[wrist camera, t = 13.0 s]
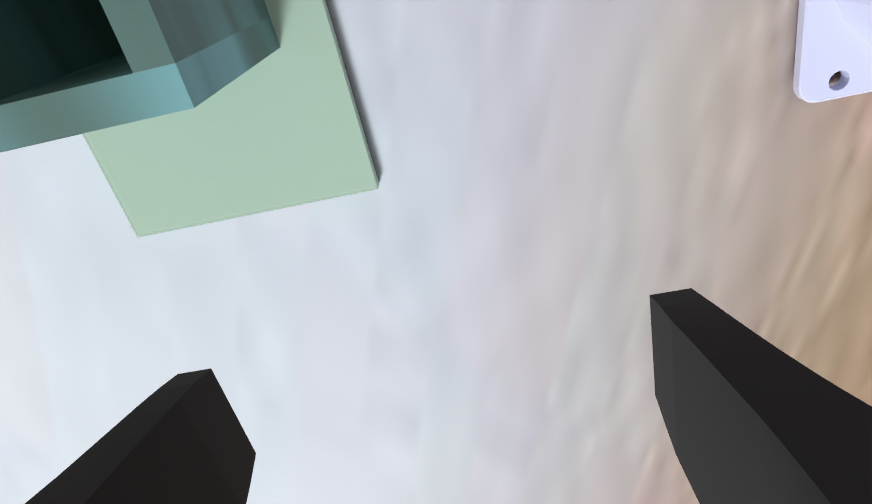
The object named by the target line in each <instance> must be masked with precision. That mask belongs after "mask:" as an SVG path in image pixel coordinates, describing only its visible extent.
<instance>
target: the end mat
mask: <svg viewBox="0 0 872 504" xmlns="http://www.w3.org/2000/svg"><path fill="white" fill-rule="evenodd" d="M264 1H265V4H266V7H267V10H268V13H269V16H270V19H271V22H272V25H273V28H274V31H275V33H276V36H277V39H278V42H279V45H280V48H279V49H278V50H276V51H275V52H273V53H272V54H270V55H269V56H268V57H266V58H265V59H263V60H262V61H260V62H259V63H258V64H256V65H255V66H253V67H252V68H251V69H249V70H248V71H246V72H245V73H243V74H242V75H241V76H239V77H238V78H236V79H235V80H233V81H232V82H231V83H229V84H228V85H226V86H225V87H223V88H222V89H221V90H219V91H218V92H216V93H215V94H214V95H212V96H211V97H209V98H208V99H206V100H205V101H204V102H202V103H201V104H199V105H198V106H196V107H195V108H192V109H188V110H183V111H179V112H175V113H170V114H166V115H162V116H157V117H153V118H148V119H144V120H140V121H135V122H131V123H127V124H122V125H118V126H114V127H109V128H105V129H100V130H96V131H92V132H87V133H83V136H84V138H85V139H86V141H87V143H88V145H89V147H90V149H91V151H92V153H93V155H94V156H95V158H96V160H97V162H98V164H99V166H100V168H101V170H102V171H103V173H104V175H105V177H106V179H107V181H108V183H109V185H110V186H111V188H112V190H113V192H114V194H115V196H116V198H117V200H118V201H119V203H120V205H121V207H122V209H123V211H124V213H125V215H126V216H127V218H128V220H129V222H130V224H131V226H132V228H133V230H134V231H135V233H136V235H137V237H142V236H147V235H152V234H157V233H162V232H167V231H172V230H177V229H182V228H187V227H192V226H197V225H202V224H207V223H212V222H216V221H221V220H226V219H231V218H236V217H241V216H246V215H251V214H256V213H261V212H266V211H271V210H276V209H281V208H286V207H291V206H296V205H301V204H306V203H311V202H316V201H321V200H326V199H330V198H335V197H340V196H345V195H350V194H355V193H360V192H365V191H370V190H375V189H378V186H379V182H378V178H377V175H376V172H375V168H374V165H373V161H372V158H371V154H370V151H369V148H368V144H367V141H366V137H365V134H364V130H363V127H362V124H361V120H360V117H359V113H358V110H357V106H356V103H355V100H354V96H353V93H352V89H351V86H350V83H349V79H348V76H347V72H346V69H345V65H344V62H343V59H342V55H341V52H340V48H339V45H338V41H337V38H336V35H335V31H334V28H333V24H332V21H331V18H330V14H329V11H328V7H327V4H326V0H264Z"/></svg>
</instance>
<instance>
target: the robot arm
mask: <svg viewBox="0 0 872 504" xmlns="http://www.w3.org/2000/svg"><path fill="white" fill-rule="evenodd" d="M838 71H840V72H841V77H840V80H839V81H838V82H837V83H836V84H835V85H833V86H831V87H829V80H830V77H831V76H832V75H833V74H834V73H836V72H838ZM793 88H794V93H795V94H796V95H797V97H798V98H801V99H803V100H805V101H807V102H809V103H812V102H821V101H826V100H831V99H836V98H841V97H846V96H851V95H856V94H861V93H866V92H871V91H872V0H799V10H798V24H797V38H796V52H795V66H794V80H793ZM650 309H651V326H652V344H653V362H654V380H655V395H656V398H657V401H658V404H659V407H660V410H661V413H662V416H663V419H664V422H665V425H666V428H667V430H668V433H669V436H670V439H671V441H672V444H673V447H674V450H675V453H676V455H677V457H678V459H679V462H680V464H681V466H682V468H683V470H684V472H685V474H686V476H687V478H688V480H689V482H690V484H691V486H692V489H693V491H694V493H695V495H696V497H697V499H698V501H699V503H700V504H872V406H870V405H868V404H866V403H865V402H863V401H861V400H860V399H858V398H856V397H854V396H853V395H851V394H849V393H847V392H846V391H844V390H842V389H841V388H839V387H837V386H836V385H834V384H833V383H831V382H829V381H828V380H826V379H824V378H823V377H821V376H820V375H818V374H816V373H815V372H813V371H812V370H810V369H809V368H807V367H805V366H804V365H802V364H801V363H799V362H798V361H796V360H795V359H793V358H792V357H790V356H789V355H787V354H785V353H784V352H782V351H781V350H779V349H778V348H776V347H775V346H773V345H772V344H770V343H769V342H768V341H766V340H765V339H763V338H762V337H760V336H759V335H757V334H756V333H754V332H753V331H752V330H750V329H749V328H747V327H746V326H744V325H743V324H741V323H740V322H739V321H737V320H736V319H734V318H733V317H732V316H730V315H729V314H727V313H726V312H724V311H723V310H722V309H720V308H719V307H717V306H716V305H714V304H713V303H712V302H710V301H709V300H707V299H706V298H704V297H703V296H702V295H700V294H699V293H697V292H696V291H694V290H693V289H692V288H690V289H684V290H678V291H672V292H666V293H660V294H654V295H650ZM255 455H256V453H255V451H254V449H253V447H252V445H251V443H250V441H249V439H248V437H247V436H246V434H245V432H244V430H243V428H242V426H241V424H240V422H239V420H238V419H237V417H236V415H235V413H234V411H233V409H232V407H231V405H230V403H229V402H228V400H227V398H226V396H225V394H224V392H223V390H222V388H221V386H220V385H219V383H218V381H217V379H216V377H215V375H214V373H213V371H212V369H206V370H200V371H194V372H188V373H182V374H177V375H176V376H175V377H173V378H172V379H171V380H169V381H168V382H167V383H165V384H164V385H163V386H161V387H160V388H159V389H158V390H157V391H155V392H154V393H153V394H152V395H150V396H149V397H148V398H147V399H146V400H145V401H143V402H142V403H141V404H140V405H139V406H138V407H136V408H135V409H134V410H133V411H132V412H131V413H129V414H128V415H127V416H126V417H125V418H124V419H123V420H121V421H120V422H119V423H118V424H117V425H116V426H115V427H114V428H112V429H111V430H110V431H109V432H108V433H107V434H106V435H104V436H103V437H102V438H101V439H100V440H99V441H98V442H96V443H95V444H94V445H93V446H92V447H91V448H90V449H88V450H87V451H86V452H85V453H84V454H83V455H82V456H80V457H79V458H78V459H77V460H76V461H75V462H74V463H72V464H71V465H70V466H69V467H68V468H67V469H66V470H64V471H63V472H62V473H61V474H60V475H59V476H58V477H56V478H55V479H54V480H53V481H52V482H50V483H49V484H48V485H47V486H46V487H44V488H43V489H42V490H41V491H39V492H38V493H37V494H36V495H35V496H33V497H32V498H31V499H30V500H29V501H27V502H26V503H25V504H246V501H247V497H248V492H249V488H250V483H251V477H252V472H253V466H254V461H255Z"/></svg>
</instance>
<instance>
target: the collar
mask: <svg viewBox="0 0 872 504" xmlns="http://www.w3.org/2000/svg"><path fill="white" fill-rule="evenodd" d="M279 48H280V45H279V42H278V39H277V36H276V33H275V31H274V28H273V25H272V22H271V19H270V16H269V13H268V10H267V7H266V4H265V1H264V0H0V152H4V151H9V150H13V149H17V148H22V147H26V146H31V145H35V144H39V143H44V142H48V141H52V140H57V139H61V138H65V137H70V136H74V135H79V134H83V133H87V132H92V131H96V130H100V129H105V128H109V127H114V126H118V125H122V124H127V123H131V122H135V121H140V120H144V119H148V118H153V117H157V116H162V115H166V114H170V113H175V112H179V111H183V110H188V109H192V108H195V107H196V106H198V105H199V104H201V103H202V102H204V101H205V100H206V99H208V98H209V97H211V96H212V95H214V94H215V93H216V92H218V91H219V90H221V89H222V88H223V87H225V86H226V85H228V84H229V83H231V82H232V81H233V80H235V79H236V78H238V77H239V76H241V75H242V74H243V73H245V72H246V71H248V70H249V69H251V68H252V67H253V66H255V65H256V64H258V63H259V62H260V61H262V60H263V59H265V58H266V57H268V56H269V55H270V54H272V53H273V52H275V51H276V50H278V49H279Z"/></svg>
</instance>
